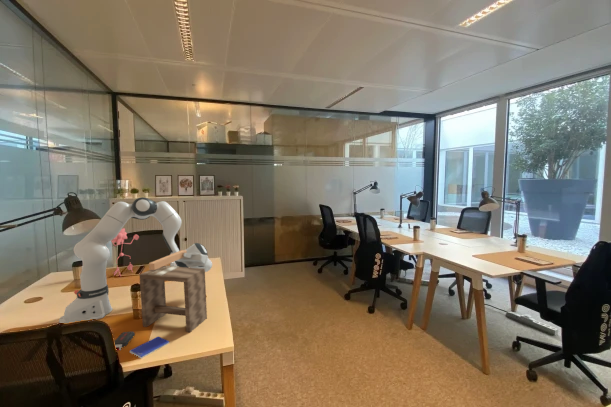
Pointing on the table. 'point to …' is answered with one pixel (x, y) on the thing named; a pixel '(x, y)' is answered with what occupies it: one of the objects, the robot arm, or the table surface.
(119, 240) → the pink wire sculpture
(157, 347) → the hard drive
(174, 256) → the handle bar
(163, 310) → the stand
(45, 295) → the table surface
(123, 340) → the usb drive
